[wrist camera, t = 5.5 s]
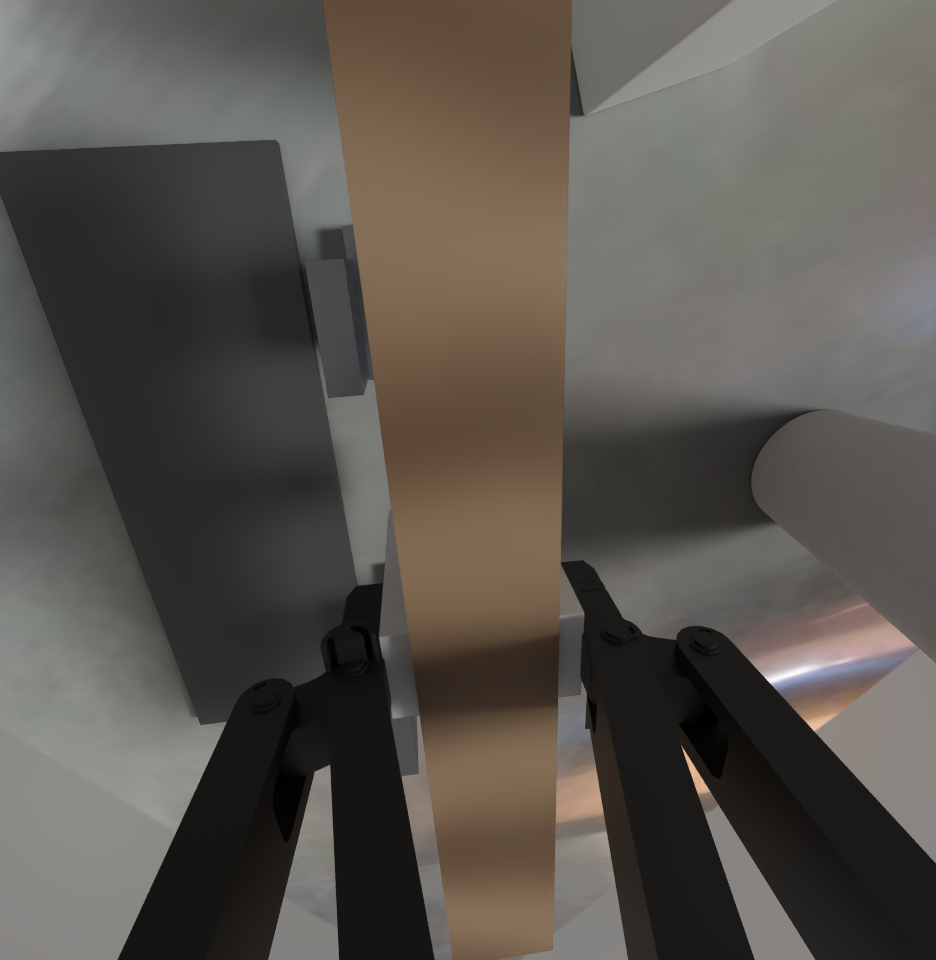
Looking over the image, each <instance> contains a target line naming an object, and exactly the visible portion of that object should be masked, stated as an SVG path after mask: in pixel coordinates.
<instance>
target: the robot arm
mask: <svg viewBox="0 0 936 960" xmlns="http://www.w3.org/2000/svg"><path fill="white" fill-rule="evenodd" d="M344 610H345V611H344V614H343V621H342V625H339V626H336V627H335V628H333V629H332V630H330V631H329V632H328V633H327V634H326V635H325V636H324V638H323V639H322V641H321V645H320V648H321V653H322V657H323V661H324V666H325V670H326V672H325V673H323V674H322V675H320V676H319V677H317V678H315V679H313V680H311V681H309V682H306V683H304V684H301V685H298V686H296V687H293V686H292V684H291V683H290V682H288V681H286V680H285V679H279V678H271V679H267V680H262V681H260V682H258V683H256V684H254V685H252V686H251V687H249V688H248V689H247V690H246V691H245V692H243V693H242V695H241V696H240V697H239V699H238V700H237V702H236V704H235V706H234V708H233V710H232V712H231V715H230V717H229V719H228V721H227V723H226V726H225V728H224V730H223V732H222V734H221V736H220V739H219V741H218V743H217V745H216V747H215V749H214V752H213V754H212V756H211V758H210V760H209V762H208V765H207V767H206V769H205V771H204V773H203V775H202V778H201V780H200V782H199V784H198V786H197V789H196V791H195V793H194V795H193V797H192V799H191V802H190V804H189V806H188V808H187V810H186V812H185V815H184V817H183V819H182V821H181V823H180V825H179V828H178V830H177V832H176V834H175V836H174V839H173V841H172V843H171V845H170V847H169V849H168V852H167V854H166V856H165V858H164V860H163V862H162V865H161V867H160V869H159V871H158V873H157V875H156V878H155V880H154V882H153V884H152V886H151V888H150V891H149V893H148V895H147V897H146V899H145V902H144V904H143V906H142V908H141V910H140V913H139V915H138V917H137V919H136V921H135V923H134V925H133V928H132V930H131V932H130V934H129V936H128V938H127V941H126V943H125V945H124V947H123V950H122V951H121V954H120V956H119V958H118V960H268V958H269V954H270V950H271V945H272V941H273V938H274V934H275V930H276V925H277V921H278V918H279V913H280V909H281V905H282V901H283V897H284V893H285V889H286V885H287V881H288V877H289V873H290V869H291V865H292V861H293V857H294V853H295V849H296V845H297V841H298V837H299V833H300V829H301V825H302V821H303V817H304V813H305V809H306V805H307V801H308V797H309V793H310V789H311V785H312V781H313V777H314V771H317V770H319V769H321V768H324V767H326V766H328V765H330V768H331V790H332V813H333V835H334V857H335V879H336V901H337V923H338V942H339V943H338V944H339V960H435V959H434V954H433V948H432V943H431V937H430V932H429V926H428V921H427V915H426V910H425V904H424V899H423V893H422V888H421V882H420V877H419V871H418V866H417V860H416V855H415V849H414V844H413V838H412V833H411V827H410V822H409V816H408V811H407V805H406V800H405V794H404V789H403V783H402V778H401V772H400V767H399V761H398V756H397V750H396V745H395V739H394V734H393V728H392V723H391V712H392V718H393V719H395V718H403V717H411V716H418V715H420V714H419V706H418V699H417V692H416V684H415V677H414V670H413V662H412V655H411V647H410V640H409V633H408V625H407V618H406V611H405V603H404V596H403V589H402V581H401V574H400V567H399V559H398V552H397V545H396V537H395V530H394V523H393V515H392V510H390V511H389V518H388V531H387V544H386V556H385V569H384V581H383V583H381V584H371V585H362V586H355V587H354V589H353V590H352V591H351V592H350V594H349V595H348V596H347V598H346V603H345V609H344ZM581 679H582V682H583V684H584V687H585V689H586V692H587V704H586V724H585V729H590V733H591V739H592V745H593V751H594V757H595V763H596V769H597V775H598V781H599V787H600V793H601V799H602V805H603V811H604V817H605V823H606V829H607V835H608V841H609V847H610V853H611V859H612V865H613V871H614V877H615V883H616V889H617V894H618V901H619V906H620V913H621V919H622V925H623V931H624V936H625V943H626V949H627V955H628V960H755V959H754V957H753V953H752V951H751V948H750V945H749V942H748V939H747V937H746V933H745V930H744V927H743V924H742V921H741V919H740V916H739V913H738V910H737V907H736V904H735V901H734V898H733V895H732V892H731V889H730V887H729V884H728V881H727V878H726V875H725V872H724V869H723V866H722V863H721V861H720V857H719V855H718V852H717V849H716V846H715V843H714V840H713V837H712V834H711V831H710V828H709V825H708V823H707V820H706V817H705V814H704V811H703V808H702V805H701V802H700V799H699V796H698V793H697V791H696V788H695V785H694V782H693V779H692V776H691V773H690V770H689V767H688V764H687V761H686V759H685V756H684V753H683V750H682V747H683V748H684V750H685V752H686V753H687V755H688V756H689V758H690V760H691V761H692V763H693V764H694V766H695V768H696V769H697V771H698V772H699V774H700V776H701V777H702V779H703V780H704V782H705V784H706V785H707V787H708V788H709V790H710V792H711V793H712V795H713V796H714V798H715V800H716V801H717V803H718V804H719V806H720V808H721V809H722V811H723V812H724V814H725V816H726V817H727V819H728V820H729V822H730V824H731V825H732V827H733V828H734V830H735V832H736V833H737V835H738V836H739V838H740V840H741V841H742V843H743V844H744V846H745V848H746V849H747V851H748V853H749V854H750V856H751V857H752V859H753V860H754V862H755V864H756V865H757V867H758V869H759V870H760V872H761V873H762V875H763V877H764V878H765V880H766V881H767V883H768V884H769V886H770V888H771V889H772V891H773V892H774V894H775V896H776V897H777V899H778V901H779V902H780V904H781V905H782V907H783V909H784V910H785V912H786V913H787V915H788V917H789V918H790V920H791V921H792V923H793V924H794V926H795V928H796V929H797V931H798V933H799V934H800V936H801V937H802V939H803V941H804V942H805V944H806V945H807V947H808V949H809V950H810V952H811V953H812V955H813V957H814V958H815V960H936V863H935V862H934V861H933V860H932V859H931V858H930V857H929V856H928V855H927V853H926V852H925V851H924V850H923V849H922V848H921V847H920V846H919V845H918V844H917V843H916V842H915V840H914V839H913V838H912V837H911V836H910V835H909V834H908V833H907V832H906V831H905V830H904V829H903V827H902V826H901V825H900V824H899V823H898V822H897V821H896V820H895V819H894V818H893V817H892V815H891V814H890V813H889V812H888V811H887V810H886V809H885V808H884V807H883V806H882V805H881V804H880V802H879V801H878V800H877V799H876V798H875V797H874V796H873V795H872V794H871V793H870V792H869V791H868V789H867V788H866V787H865V786H864V785H863V784H862V783H861V782H860V781H859V780H858V779H857V778H856V776H855V775H854V774H853V773H852V772H851V771H850V770H849V769H848V768H847V767H846V766H845V765H844V763H843V762H842V761H841V760H840V759H839V758H838V757H837V756H836V755H835V754H834V752H833V751H832V750H831V749H830V748H829V747H828V746H827V745H826V744H825V743H824V742H823V741H822V739H821V738H819V736H818V735H817V734H816V733H815V732H814V731H813V730H812V729H811V727H810V726H809V725H808V724H807V723H806V722H805V721H804V720H803V719H802V718H801V717H800V716H799V714H798V713H797V712H796V711H795V710H794V709H793V708H792V707H791V706H790V705H789V704H788V703H787V701H786V700H785V699H784V698H783V697H782V696H781V695H780V694H779V693H778V692H777V691H776V689H775V688H774V687H773V686H772V685H771V684H770V683H769V682H768V681H767V680H766V679H765V678H764V676H763V675H762V674H761V673H760V672H759V671H758V670H757V669H756V668H755V667H754V666H753V665H752V663H751V662H750V661H749V660H748V659H747V658H746V657H745V656H744V655H743V654H742V653H741V651H740V650H739V649H738V648H737V647H736V646H735V645H734V644H733V643H732V642H731V641H730V640H729V639H728V638H727V637H726V636H724V635H723V634H722V633H720V632H718V631H716V630H714V629H711V628H707V627H702V626H689V627H687V628H684V629H682V630H681V631H680V632H679V633H678V634H677V639H676V640H671V639H663V638H655V637H650V636H647V635H644V634H642V632H641V631H640V629H639V628H638V627H637V626H636V625H635V624H633V623H632V622H630V621H627V620H625V619H623V617H622V616H621V614H620V612H619V610H618V609H617V607H616V605H615V604H614V602H613V600H612V598H611V597H610V595H609V593H608V592H607V590H605V586H604V585H603V583H602V581H600V578H599V576H598V574H597V573H596V571H595V569H594V568H593V567H591V566H590V565H588V564H587V563H586V562H584V561H583V560H580V561H571V562H562V563H561V575H560V624H559V674H558V697H566V696H574V695H581ZM681 745H682V747H681Z"/></svg>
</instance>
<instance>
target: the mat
mask: <svg viewBox="0 0 936 960" xmlns="http://www.w3.org/2000/svg"><path fill="white" fill-rule="evenodd" d="M0 195H1V197H2V200H3V203H4V205H5V208H6V210H7V213H8V216H9V218H10V221H11V224H12V226H13V229H14V232H15V234H16V237H17V240H18V242H19V245H20V248H21V250H22V253H23V256H24V258H25V261H26V263H27V266H28V269H29V271H30V274H31V277H32V279H33V282H34V285H35V287H36V290H37V293H38V295H39V298H40V301H41V303H42V306H43V309H44V311H45V314H46V316H47V319H48V322H49V324H50V327H51V330H52V332H53V335H54V338H55V340H56V343H57V346H58V348H59V351H60V354H61V356H62V359H63V362H64V364H65V367H66V369H67V372H68V375H69V377H70V380H71V383H72V385H73V388H74V391H75V393H76V396H77V399H78V401H79V404H80V407H81V409H82V412H83V415H84V417H85V420H86V423H87V425H88V428H89V430H90V433H91V436H92V438H93V441H94V444H95V446H96V449H97V452H98V454H99V457H100V460H101V462H102V465H103V468H104V470H105V473H106V476H107V478H108V481H109V483H110V486H111V489H112V491H113V494H114V497H115V499H116V502H117V505H118V507H119V510H120V513H121V515H122V518H123V521H124V523H125V526H126V529H127V531H128V534H129V536H130V539H131V542H132V544H133V547H134V550H135V552H136V555H137V558H138V560H139V563H140V566H141V568H142V571H143V574H144V576H145V579H146V582H147V584H148V587H149V589H150V592H151V595H152V597H153V600H154V603H155V605H156V608H157V611H158V613H159V616H160V619H161V621H162V624H163V627H164V629H165V632H166V635H167V637H168V640H169V642H170V645H171V648H172V650H173V653H174V656H175V658H176V661H177V664H178V666H179V669H180V672H181V674H182V677H183V680H184V682H185V685H186V688H187V690H188V693H189V695H190V698H191V701H192V703H193V706H194V709H195V711H196V714H197V717H198V719H199V722H200V725H204V724H211V723H218V722H226V721H228V719H229V717H230V715H231V712H232V710H233V708H234V706H235V704H236V702H237V700H238V699H239V697H240V696H241V695H242V693H243V692H245V691H246V690H247V689H248V688H249V687H251V686H252V685H254V684H256V683H258V682H260V681H262V680H267V679H271V678H279V679H285V680H286V681H288V682H290V683H291V684H292V686H293V687H296V686H298V685H301V684H304V683H306V682H309V681H311V680H313V679H315V678H317V677H319V676H320V675H322V674H323V673H325V672H326V670H325V666H324V661H323V657H322V653H321V648H320V645H321V641H322V639H323V638H324V636H325V635H326V634H327V633H328V632H329V631H330V630H332V629H333V628H335V627H336V626H339V625H342V621H343V614H344V611H345V610H344V609H345V603H346V598H347V596H348V595H349V594H350V592H351V591H352V590H353V589H354V587H355V586H357V581H356V575H355V569H354V564H353V558H352V552H351V547H350V541H349V536H348V530H347V524H346V519H345V513H344V507H343V502H342V496H341V491H340V485H339V479H338V474H337V468H336V462H335V457H334V451H333V445H332V440H331V434H330V429H329V423H328V417H327V412H326V406H325V400H324V395H323V389H322V384H321V378H320V372H319V367H318V361H317V355H316V350H315V344H314V338H313V333H312V327H311V322H310V316H309V310H308V305H307V299H306V293H305V288H304V282H303V277H302V271H301V265H300V260H299V254H298V248H297V243H296V237H295V231H294V226H293V220H292V215H291V209H290V203H289V198H288V192H287V186H286V181H285V175H284V170H283V164H282V158H281V153H280V147H279V143H278V142H277V141H276V140H261V141H239V142H217V143H194V144H172V145H150V146H128V147H105V148H83V149H61V150H39V151H16V152H0Z"/></svg>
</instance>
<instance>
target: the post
mask: <svg viewBox="0 0 936 960" xmlns="http://www.w3.org/2000/svg"><path fill="white" fill-rule="evenodd" d="M342 231H343V238H344V244H345V251H346V258H347V259H330V260H314V261H305V267H306V273H307V278H308V284H309V290H310V296H311V301H312V307H313V313H314V319H315V324H316V330H317V336H318V342H319V347H320V353H321V359H322V365H323V370H324V376H325V382H326V388H327V393H328V398H333V397H344V396H356V395H364V392H365V388H366V385H367V381H368V380H370V379H374V376H373V368H372V361H371V354H370V346H369V339H368V332H367V324H366V317H365V309H364V302H363V295H362V287H361V280H360V273H359V265H358V258H357V251H356V243H355V236H354V229H353V226H345V227H342Z"/></svg>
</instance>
